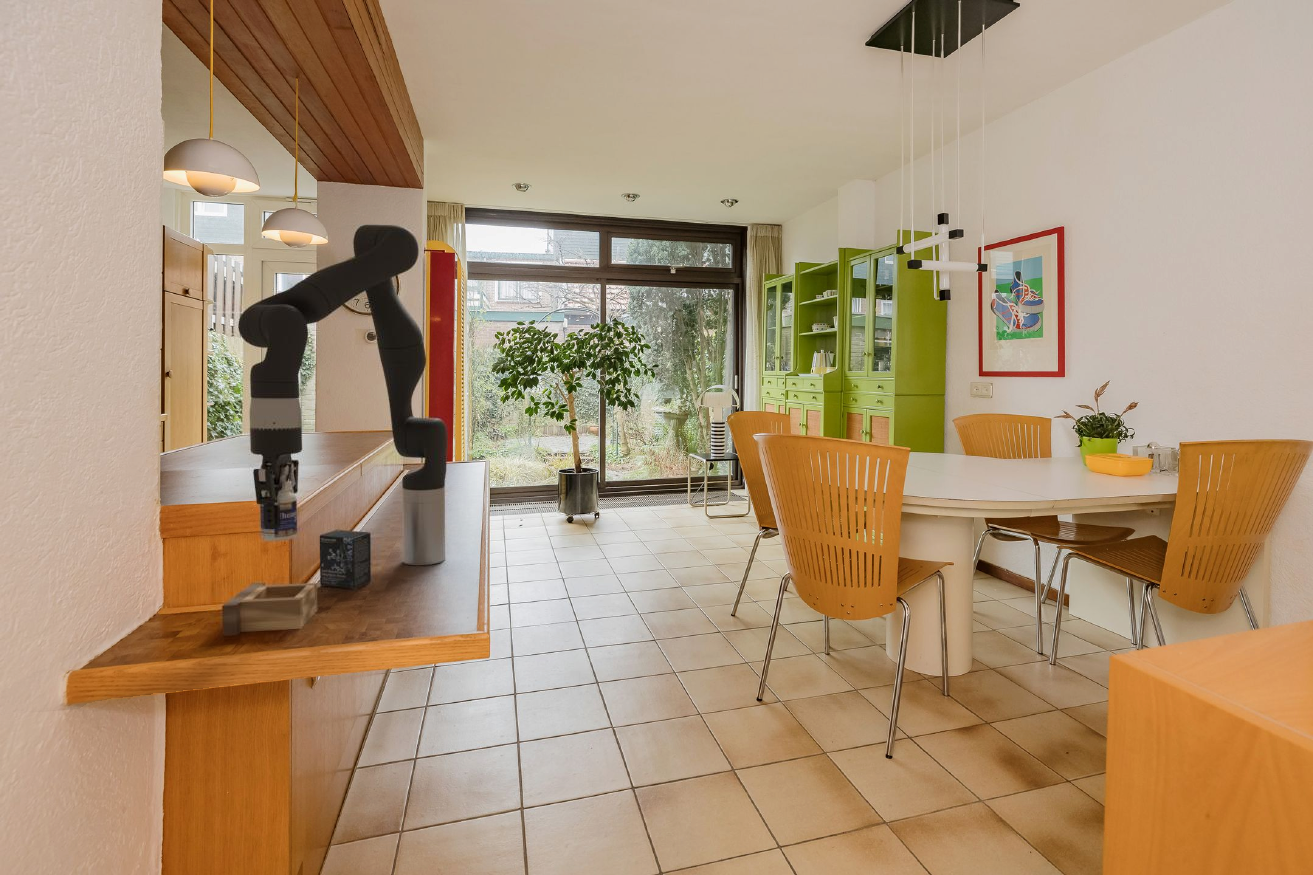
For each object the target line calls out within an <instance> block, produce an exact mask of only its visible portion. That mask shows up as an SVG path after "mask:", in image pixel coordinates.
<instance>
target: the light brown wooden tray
mask: <svg viewBox="0 0 1313 875" xmlns="http://www.w3.org/2000/svg"><path fill="white" fill-rule="evenodd" d="M317 612H318V583H317V582H316V583H315V582H313V583H311V582H310V583H286V584H282V583H281V584H265V585H261V586H260V587H259V588H257V589H256V590H255V591H254V592H252V593H251V594H250V595H248V596H247V597H246V598H245V599H243V600H242V601H241V602H240V620H241V632H240V633H244V632H262V631H263V632H264V631H265V632H266V631H281V630H282V631H283V630H284V631H285V630H301V629H302V628H303V626H305V625H306V623H308V621H309V620H310V619H311V618H312V617H313V616H314V615H315V614H316V613H317Z"/></svg>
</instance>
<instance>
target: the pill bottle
mask: <svg viewBox="0 0 1313 875" xmlns="http://www.w3.org/2000/svg"><path fill="white" fill-rule="evenodd" d="M276 486H278V485H274V487H276ZM291 489H292V484H291V481H289V480H288V481H286V482H285V490H284V492H282V493H281V497H280V504H279V506H280V526H279V527H278V528H274V529H266V528H265V527H264V506H262V505H261V504H259V509H260V511H259V512H260V513H259V514H260V516H259V518H260V538H261V540H262V541H266V542H283V541H288V540H292V539H296V537H297V536H298V507H297V505H298V502H297V501H298V499H297V495H296V493H294V494H293V493H291V492H290V490H291ZM268 497H269V493H268Z"/></svg>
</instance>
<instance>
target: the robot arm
mask: <svg viewBox="0 0 1313 875" xmlns="http://www.w3.org/2000/svg"><path fill="white" fill-rule="evenodd" d="M352 240H353V241H352V242H353V244H352V245H353V254H354V258H351V259H348V260H345V261H342V262H338V263H335V264H332V265H330V266H327V267H324V268H322V269H320V270H317V271H316V272H313V273H311V274H309V275H308V276H307V277H305V278H304V279H302V280H301V281H299V282H297V283H296V284H294V285H293V286H291V287H290V288H288V289H286V290H283V291H282V292H281V291H280V292H278V293H275V294H274V295H271V296H269V297H267V298H264V299H261V300H259V301H257V302H255V303H252V305H250V306H248V307H247V308H246V309H245V310H244V311H243V312H242V313H241V315H240V317H239V319H238V324H237V325H238V332H239V335H240V337H241V338H242V339H243V340H244V342H246V343H247V344H249V345H250V346H252V347H256V348H261V349H263V348H264V349H266V353H265V357H264V359H263V360H262V361H260V362H257V363H255V364H253V365H252V367H250V368H251V369H250V375H249V377H250V378H249V381H250V383H249V384H250V405H249V440H250V441H249V443H250V446H249V447H250V453H251V454H253V455H257V456H259V455H261V457H262V459H261V460H262V461H261V465H260V468H253V471H252V474H253V481H254V482H253V484H254V491H255V500H256V504H257V505H260V504H261V505H262V506H264V527H265V528H266V529H274V528H278V527H279V526H280V506H279V504H280V497H281V493H282V492H284V490H285V482H286V481H291V484H292V489H291V490H290V492H291V493H293V494H297V493H298V490H299V488H298V486H299V463H300V462H299V459H292V455H293V454H294V455H295V454H298V453H299V454H300V453H301V452H302V451H303V434H302V433H303V429H302V428H303V426H302V409H301V403H300V382H299V373H300V370H301V367H302V364H303V360H304V356H305V352H306V347H307V343H308V340H309V339H308V338H309V330H308V329H309V328H308V325H309V324H315V323H318V322H321V321H322V320H324V319H326V318H327V317H328V316H329V315H331V314H332V313H334V312H336V311H337V310H338V309H339V308H341V307H342V306H343V305H345V304H346V303H348V302H349V301H351V300H352V299H354V298H355V297H357V296H359V295H361V294H363V293H364V292H365V293H366V298H367V302H368V306H369V309H370V314H371V318H372V322H373V327H374V332H375V336H376V337H375V338H376V344H377V349H378V354H379V358H380V359H379V360H380V364H381V367H382V371H383V375H384V379H385V384H386V391H387V397H388V403H389V404H388V405H389V413H390V420H391V421H390V422H391V430H392V438H393V444H394V447H395V449H396V451H397V453H398V454H399V455H400V456H401V457H404V458H412V459H413V458H414V459H420V458H421V459H424V464H423V466H422V467H421V468H419V469H418V470H416V471H412V472H409V473H406V474H405V475H403V477H402V483H401V484H402V486H401V487H402V488H401V489H402V553H403V554H402V555H403V556H402V560H403V564H406V565H409V566H410V565H411V566H428V565H435V564H438V563H442V562H444V561H445V560H446V499H445V498H446V497H445V496H446V493H445V492H446V486H445V485H446V475H447V461H448V459H447V458H448V456H447V454H448V440H449V439H448V430H447V425H446V423H445V421H444V420H442V419H441V418H436V417H415V416H414V413H413V407H412V404H413V403H412V401H413V400H412V398H413V395H414V392H415V390H416V387H417V385H418V383H419V382H420V379H421V377H422V375H423V372H424V371H425V367H426V366H427V365H426V364H427V357H426V356H427V354H426V348H425V344H424V338H423V334H422V331H421V329H420V327H419V325H418V323H417V321H415V319H414V317H413V316H412V315H411V313H410V312H409V311H408V309H407V308H406V306H405V305H404V303H403V301H401V299H400V297H399V296H398V293H397V292H396V289H395V288H396V287H395V285H394V282H393V281H394V280H393V278H394V277H397V276H399V275H401V274H403V273H406V272H407V271H409V270H410V269H412V268H413V267H414V266H415V264H416V263H417V261H418V259H419V251H420V250H419V243H418V240H417V238H416V236H415V234H414V233H413V232H412V231H411V230H409V229H408V228H407V227H403V226H401V225H396V224H395V225H394V224H363V225H361V226H359V227H358V228H357V230H356V231H355V233H354V236H353V239H352ZM274 485H278V486H276V487H274ZM268 493H269V497H268Z"/></svg>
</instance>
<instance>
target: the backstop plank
mask: <svg viewBox="0 0 1313 875" xmlns="http://www.w3.org/2000/svg"><path fill="white" fill-rule="evenodd" d="M261 585H266V582H253V583H251V584H250V585H248V586H246V587H245V588H244V589H242V591H240V592H239V593H237V594H236V595H235V596H234V597H232V598H230V599H229V600H228V601H226V602H225V603H224V604H223V605H222V606H221V611H222V612H221V613H222V637H230V636H238V635H239V634H240V633H242V632H241V620H240V602H241V601H242V600H243V599H245V598H246V597H247V596H248V595H250V594H251V593H252V592H254V591H255V590H256V589H257V588H259V587H260V586H261Z"/></svg>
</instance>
